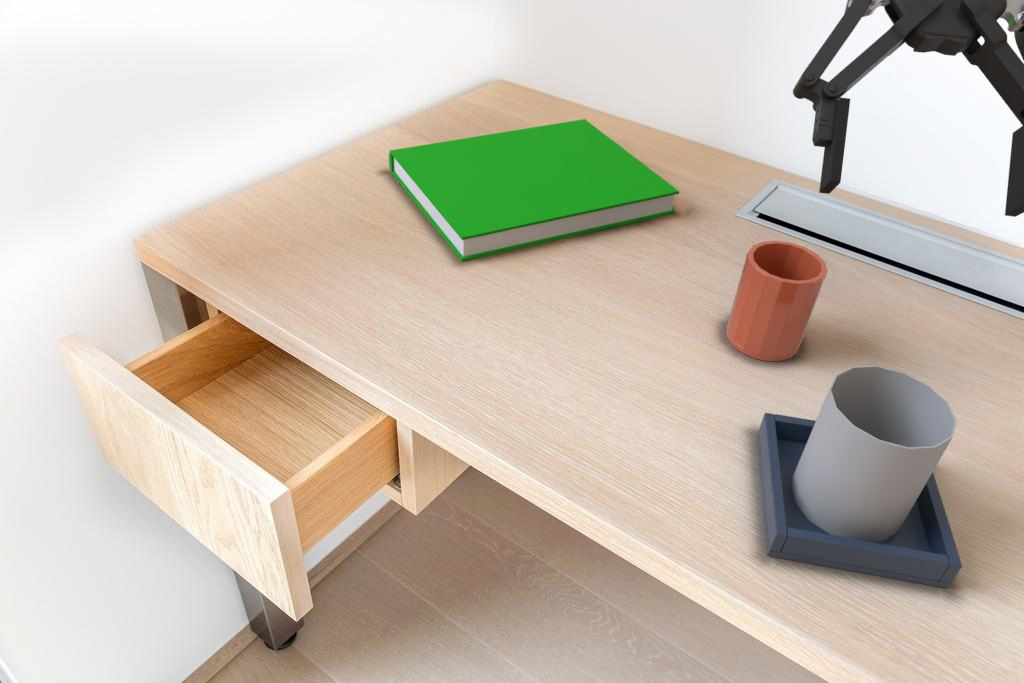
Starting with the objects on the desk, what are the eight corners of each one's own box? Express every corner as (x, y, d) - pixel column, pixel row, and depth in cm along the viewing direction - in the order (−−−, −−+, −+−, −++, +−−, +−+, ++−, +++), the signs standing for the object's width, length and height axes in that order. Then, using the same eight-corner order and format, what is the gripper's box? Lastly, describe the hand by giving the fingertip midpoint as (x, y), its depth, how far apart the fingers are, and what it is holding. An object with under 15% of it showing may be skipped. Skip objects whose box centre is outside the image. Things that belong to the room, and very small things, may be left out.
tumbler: (795, 322, 80) (822, 246, 75) (802, 366, 75) (831, 288, 69) (725, 312, 81) (746, 236, 75) (727, 355, 76) (750, 276, 70)
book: (674, 213, 96) (679, 191, 94) (461, 261, 85) (462, 237, 84) (580, 137, 111) (582, 117, 110) (389, 170, 101) (388, 148, 99)
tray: (910, 459, 66) (922, 437, 64) (947, 588, 56) (962, 566, 55) (756, 434, 67) (764, 412, 66) (767, 555, 58) (776, 533, 56)
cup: (786, 522, 59) (827, 427, 53) (793, 447, 66) (830, 354, 59) (905, 556, 58) (962, 462, 51) (900, 476, 64) (951, 383, 57)
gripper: (1092, -23, 64) (1070, 234, 61) (775, -52, 66) (743, 193, 64) (1160, -84, 56) (1137, 206, 54) (799, -114, 59) (764, 161, 57)
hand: (923, 200), depth 59 cm, fingers open, 13 cm apart
